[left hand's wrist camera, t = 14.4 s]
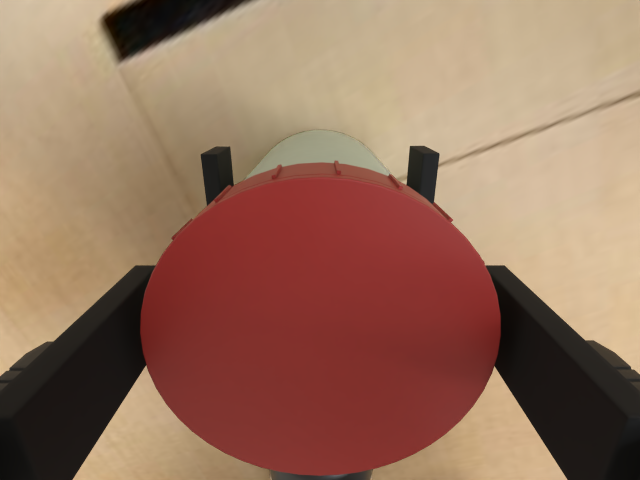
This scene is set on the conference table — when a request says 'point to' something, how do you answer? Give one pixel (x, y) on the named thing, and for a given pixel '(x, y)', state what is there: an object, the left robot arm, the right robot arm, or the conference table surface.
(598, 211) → the conference table surface
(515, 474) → the conference table surface
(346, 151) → the jar
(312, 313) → the lid
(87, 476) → the conference table surface
